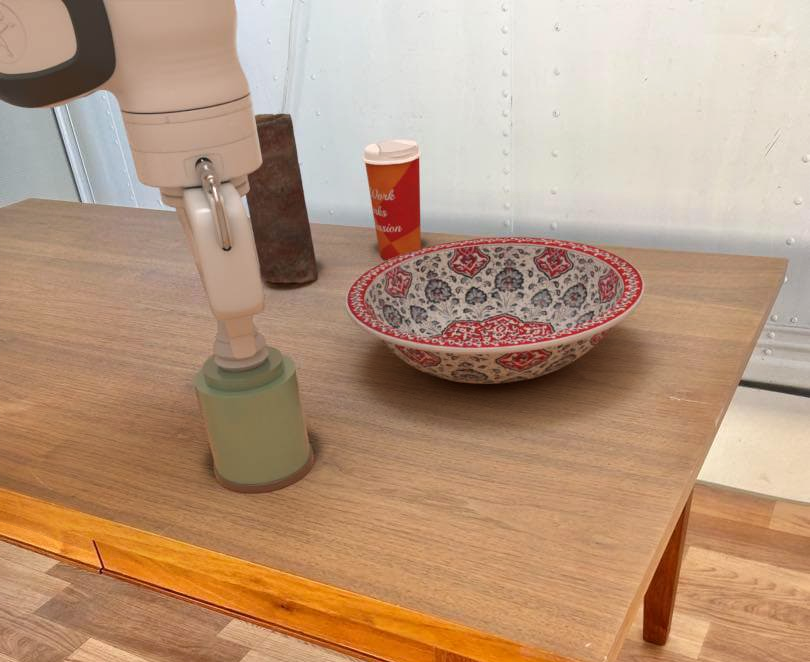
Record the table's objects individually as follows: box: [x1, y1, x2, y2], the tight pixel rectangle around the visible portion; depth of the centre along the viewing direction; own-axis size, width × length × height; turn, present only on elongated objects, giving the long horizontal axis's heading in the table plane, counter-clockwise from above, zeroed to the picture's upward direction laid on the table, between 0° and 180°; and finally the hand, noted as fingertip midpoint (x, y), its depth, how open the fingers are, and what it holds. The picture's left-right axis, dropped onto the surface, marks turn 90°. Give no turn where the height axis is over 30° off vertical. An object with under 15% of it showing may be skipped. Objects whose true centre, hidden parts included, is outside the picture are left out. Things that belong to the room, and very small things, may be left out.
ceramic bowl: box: [344, 236, 646, 385], centre depth 86 cm, size 29×29×8 cm
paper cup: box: [361, 139, 423, 261], centre depth 112 cm, size 8×8×14 cm
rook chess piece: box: [212, 319, 269, 372], centre depth 67 cm, size 4×4×8 cm
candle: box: [245, 113, 319, 284], centre depth 106 cm, size 8×7×20 cm
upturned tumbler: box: [193, 345, 315, 494], centre depth 72 cm, size 9×9×10 cm
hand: (235, 332), depth 67 cm, fingers open, 8 cm apart
